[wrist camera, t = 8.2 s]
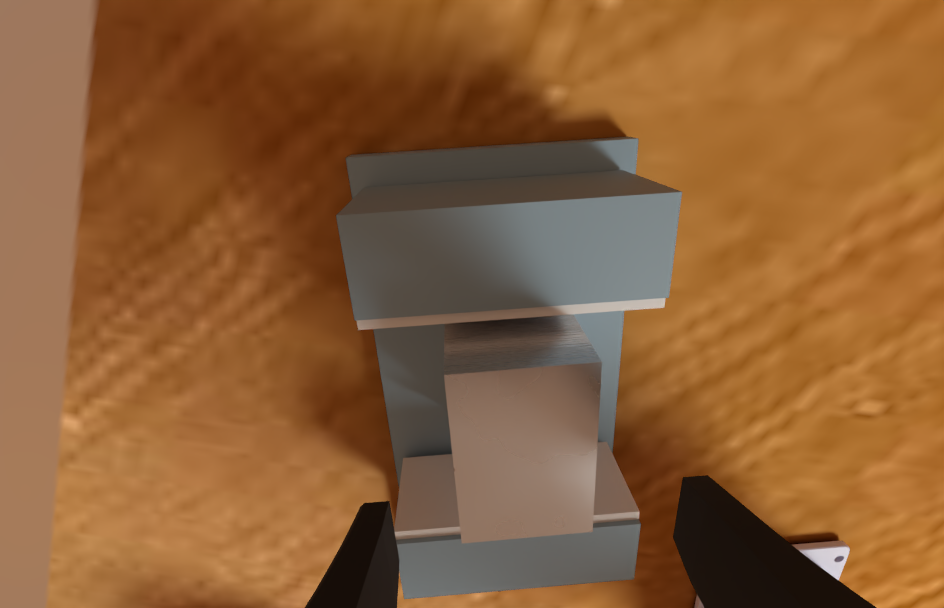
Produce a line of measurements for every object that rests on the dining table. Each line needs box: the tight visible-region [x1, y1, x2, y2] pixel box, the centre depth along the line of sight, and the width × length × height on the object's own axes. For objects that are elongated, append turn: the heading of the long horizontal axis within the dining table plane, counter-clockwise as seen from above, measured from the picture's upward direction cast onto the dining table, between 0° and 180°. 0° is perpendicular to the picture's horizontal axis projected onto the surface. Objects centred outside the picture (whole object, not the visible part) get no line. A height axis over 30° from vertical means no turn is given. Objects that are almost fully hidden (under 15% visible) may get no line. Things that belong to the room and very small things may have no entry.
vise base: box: [336, 137, 682, 487], centre depth 18 cm, size 20×10×6 cm, turn 3°
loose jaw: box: [394, 442, 641, 599], centre depth 19 cm, size 3×9×4 cm, turn 93°
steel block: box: [444, 314, 602, 543], centre depth 16 cm, size 6×4×6 cm, turn 4°
